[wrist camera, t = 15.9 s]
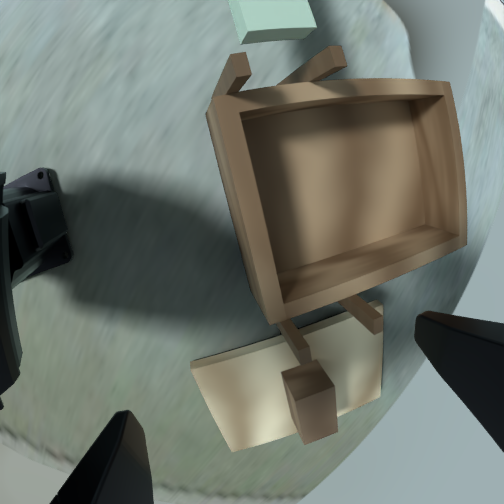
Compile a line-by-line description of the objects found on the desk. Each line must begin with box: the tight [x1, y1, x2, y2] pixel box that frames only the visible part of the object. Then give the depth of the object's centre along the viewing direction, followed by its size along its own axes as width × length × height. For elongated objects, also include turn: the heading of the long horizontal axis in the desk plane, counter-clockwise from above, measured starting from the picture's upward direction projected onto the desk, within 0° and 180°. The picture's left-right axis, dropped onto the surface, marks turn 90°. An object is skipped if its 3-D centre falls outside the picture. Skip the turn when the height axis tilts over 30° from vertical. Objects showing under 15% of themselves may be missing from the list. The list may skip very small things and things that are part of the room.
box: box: [206, 46, 467, 366], centre depth 16 cm, size 16×14×8 cm
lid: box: [190, 299, 383, 452], centre depth 22 cm, size 16×11×5 cm
